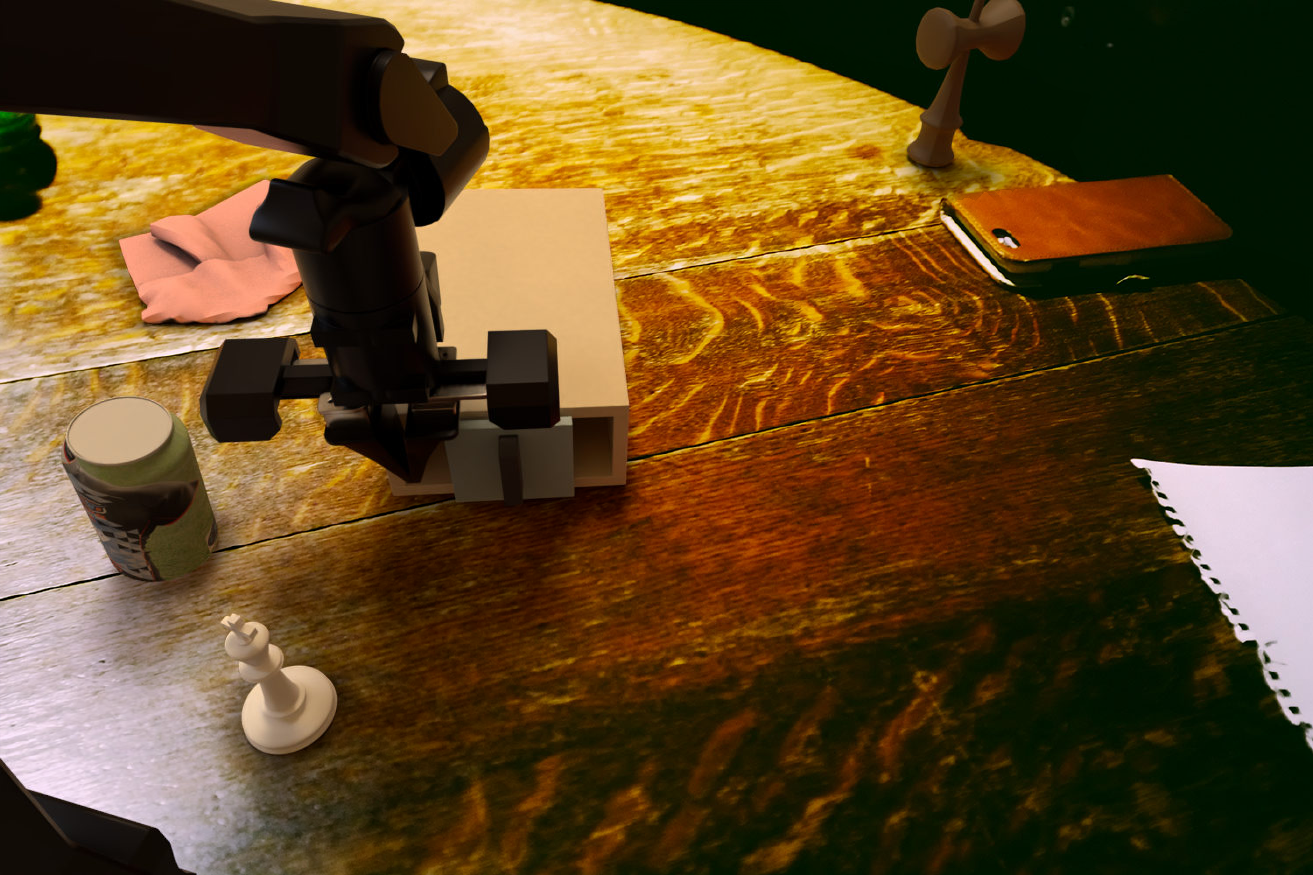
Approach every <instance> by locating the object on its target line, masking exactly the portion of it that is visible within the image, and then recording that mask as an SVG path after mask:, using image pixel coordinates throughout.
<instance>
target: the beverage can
mask: <svg viewBox="0 0 1313 875" xmlns="http://www.w3.org/2000/svg"><path fill="white" fill-rule="evenodd" d="M60 455H61V456H60V458H61V463H62V466H63V469H64V470H65V472H66V475H67V476H68V479H69V481H70V483H71V484H72V488H74V491H75V493H76V495H77V497H78V498H79V500H80V502H81V503H80V504H82V507H83V509H84V511H85V512H86V516H88V519H89V520H90V523H91V525H92V526H93V528H94V531H95V532H96V535H97V537H98V538H99V541H100V542H101V544H102V546H103V548H104V550H105V552H106V555H107V556H108V558H109V561H110V563H111V564H112V566H113V567H114V568H115V570H116V571H117V572H118V573H120V574H121V575H123V576H124V577H126V578H128V579H131V580H133V581H137V582H143V583H162V582H163V583H164V582H168V581H172V580H175V579H179V578H182V577H184V576H186V575H188V574H190V573H192V572H193V571H195V570H197V569H198V568H199V567H200V566H202V565H203V564H204V563H205V562H206V561H207V560H208V559H209V558H210V557H211V555H212V554H213V552H214V551H215V548H216V546H217V545H218V541H219V540H218V539H219V527H218V524H217V521H216V517H215V513H214V511H213V508H212V504H211V501H210V498H209V494H208V491H207V488H206V484H205V482H204V478H203V475H202V471H201V469H200V465H199V462H198V459H197V455H196V453H195V450H194V446H193V443H192V439H191V436H190V433H189V429H188V428H187V426H186V425H185V423H184V422H183V420H182V419H181V418H179V417H178V416H177V415H176V414H175V413H173V412H172V411H170V410H168V409H167V408H166V407H165V406H164V405H163V404H161V403H160V402H158V401H156V400H155V399H151V398H148V397H145V396H137V395H119V396H113V397H108V398H105V399H101V400H99V401H96V402H94V403H92V404H90V405H88V406H87V407H84V409H82V410H81V411H79V412H78V413H77V414H76V415H75V416H74V417H73V418H72V419H71V421H70V422H69V424H68V425H67V429H66V432H65V438H64V439H63V444H62V446H61V452H60Z"/></svg>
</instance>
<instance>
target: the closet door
mask: <svg viewBox="0 0 1313 875" xmlns="http://www.w3.org/2000/svg"><path fill="white" fill-rule="evenodd" d="M560 419H561V421H559V422H558V423H557V424H556V425H554V426H553V427H552V428H544V429H522V430H503V429H502V428H500V427H498V426H496V425H495V424H493V423H491V422H489V420H466V421H460V426H459V434H458V436H457V437H456V438H455V439H453V440H450V441H444V443H445V448H446V453H447V458H448V463H449V468H450V473H451V478H452V483H453V488H454V493H453V494H454V498H455V502H456V503H473V502H475V503H476V502H494V501H503V504H504V506H505V507H514V506H516V507H517V506H523V505H524V500H532V499H550V498H570V497H572V498H573V497H575V487H574V461H573V426H572V416H567V417H560Z"/></svg>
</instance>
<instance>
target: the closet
mask: <svg viewBox="0 0 1313 875" xmlns="http://www.w3.org/2000/svg"><path fill="white" fill-rule="evenodd" d="M605 202H606V201H605V193H604V188H603V187H598V188H597V187H586V188H585V187H581V188H580V187H575V188H574V187H573V188H571V187H570V188H561V187H560V188H559V187H558V188H557V187H555V188H464V189H463V190H462V191H461V193H460V194H459V195H458V197H457V198H456V199H455V200H454V202H453V203H452V204H451V206H450V207H449V208H448V210H447V211H446V212H445V213H444V215H443V216H442V217H441V219H440V220H439V221H437V222H434V223H433V224H430V225H427V226H423V227H415V229H416V235H417V240H418V245H419V251H429V252H433V253H435V254H436V259H437V268H438V277H439V286H440V295H441V312H442V317H443V323H444V340H443V342H438V343H437V346H438V347H444V346H454V347H456V348H457V359H483V358H487V342H488V331H505V330H537V329H547V330H548V331H549V332H550V333H551V334H552V335H553V336H554V337H555V338H556V339H557V355H558V376H559V397H560V417H567V416H572V426H573V461H574V488H585V487H586V488H587V487H604V486H605V487H607V486H625V485H627V468H628V467H627V466H628V445H629V444H628V443H629V424H630V423H629V422H630V420H629V419H630V400H629V391H628V383H627V376H626V367H625V365H626V364H625V359H624V349H623V341H622V333H621V324H620V317H619V309H618V300H617V294H616V284H615V276H614V268H613V261H612V252H611V251H612V250H611V244H610V236H609V235H610V234H609V227H608V219H607V218H608V217H607V209H606V203H605ZM395 406H396V409H397V412H398V415H399V417H400V420H401V423H402V426H403V428H404V431H405V426H406V418H407V410H408V404H395ZM466 420H489V417H488V410H487V399H481V400H461V411H460V421H466ZM385 471H386V475H387V478H388V483H389V485H390V486H389V487H390V489H391V493H392V495H393V497H401V496H402V497H403V496H422V495H423V496H425V495H443V494H445V495H446V494H455V493H454V488H453V483H452V478H451V473H450V468H449V463H448V458H447V453H446V448H445V443H444V441H441V442H440V443H439V444H438V446H437V447H436V449H435V450H434V452H433V453H432V454H431V456H430V457H429V459H428V462H427V465H426V468H425V471H424V474H423V477H422V480H421V483H411V484H408V483H407V482H405V481H404V480H402V479H401V478H399V477H398V476H396V475H395V474H393V473H392V472H390V471H389V470H387V469H386V468H385Z"/></svg>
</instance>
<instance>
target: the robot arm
mask: <svg viewBox="0 0 1313 875" xmlns="http://www.w3.org/2000/svg"><path fill="white" fill-rule="evenodd" d="M405 43H406V41H405V38H403V36H402V34H401V33H400V31H399V29H397V27H396V26H395V25H394V24H393V23H391V22H390V21H388V20H387V19H386V18H384V17H377V16H371V15H365V14H360V13H353V12H347V11H340V10H334V9H330V8H329V9H328V8H322V7H315V6H309V5H304V4H297V3H291V2H285V1H279V0H0V113H1V112H2V113H13V114H30V115H43V116H58V117H71V118H86V119H99V120H100V119H101V120H114V121H127V122H141V123H155V124H156V123H157V124H169V125H171V124H172V125H182V126H183V125H184V126H185V125H186V126H192V127H194V128H195V129H197V130H198V131H199V130H200V131H202V132H205V133H209V134H212V135H215V136H218V137H221V138H224V139H228V140H230V141H233V142H236V143H239V144H242V145H247V146H251V147H252V146H253V147H256V148H257V147H258V148H262V149H268V150H273V151H278V152H284V153H290V154H295V155H301V156H305V157H311V158H310V159H308V160H306V161H305V162H304V163H302V164H301V165H300V166H299V167H298V168H296V170H294V171H293V172H292V173H291V174H290V175H289V176H288V177H287V178H279V177H273V178H272V179H270V180H269V181H270V183H269V189H268V193H267V195H266V198H265V199H264V201H263V203H262V204H261V205H260V206H259V207H258V208H257V209H256V210H255V212H254V214H253V217H252V221H251V224H250V227H249V236H250V238H251V239H252V240H253V241H255V242H260V243H265V244H270V245H275V246H280V247H285V248H290V249H292V252H293V255H294V258H295V261H296V264H297V268H298V271H299V274H300V277H301V280H302V282H301V284H302V287H303V288H304V293H305V296H306V299H307V302H308V306H309V308H310V312H311V314H312V317H313V318H312V320H311V321H312V322H311V325H310V329H309V335H310V338H311V341H312V343H313V348H314V349H317V348H319V349H321V348H323V352H324V354H325V357H324V358H323V357H322V358H321V357H320V358H300V357H301V349H300V347H299V344H298V343H299V342H298V340H297V339H296V338H295V337H289V336H283V337H280V336H279V337H252V338H251V337H248V338H245V337H244V338H225V339H224V340H223V342H222V343H221V344H220V346H219V347H218V348H217V350H216V352H215V356H214V358H213V360H212V363H211V366H210V368H209V370H208V371H209V372H208V374H207V377H206V380H205V383H204V385H203V388H202V391H201V394H200V396H199V398H198V401H199V414H200V417H201V420H202V422H203V423H204V426H205V427H206V429H207V432H208V433H209V435H210V437H211V438H213V439H214V440H215V441H216V442H217V443H218V444H229V443H250V442H251V443H253V442H269V441H271V440H272V439H273V438H274V437H275V436H276V435H277V434H278V433H279V432H280V431H281V429H282V426H283V421H282V418H281V416H280V412H279V407H280V402H281V401H289V400H290V401H291V400H293V401H294V400H315V399H316V400H317V399H318V402H317V406H316V410H317V413H318V414H319V415H322V417H323V420H324V422H325V427H324V432H323V438H324V440H325V442H326V443H327V445H329V446H332V447H345V448H347V449H349V450H351V451H352V452H355V453H357V454H359V455H361V456H363V457H365V458H366V459H368V460H371V461H372V462H374V463H375V464H378V465H379V466H380V467H382V468H384V469H385V470H386V469H387V470H389V471H390V472H392V473H393V474H395V475H396V476H398V477H399V478H401V479H402V480H404V481H405V482H407V483H408V484H411V483H421V480H422V477H423V474H424V471H425V468H426V465H427V462H428V459H429V457H430V456H431V454H432V453H433V452H434V450H435V449H436V447H437V446H438V444H439V443H440V442H441V441H450V440H453V439H455V438H456V437H457V436H458V434H459V426H460V411H461V400H481V399H487V410H488V417H489V422H491V423H493V424H495V425H496V426H498V427H500V428H502V429H503V430H522V429H544V428H552V427H553V426H554V425H556V424H557V423H558V422H559V421H561V419H560V397H559V376H558V355H557V339H556V338H555V337H554V336H553V335H552V334H551V333H550V332H549V331H548V330H547V329H537V330H505V331H488V342H487V358H483V359H457V348H456V347H454V346H444V347H438V346H437V343H438V342H443V340H444V323H443V317H442V312H441V295H440V286H439V277H438V268H437V259H436V254H435V253H433V252H429V251H419V245H418V240H417V235H416V229H415V227H423V226H427V225H430V224H433V223H434V222H437V221H439V220H440V219H441V217H442V216H443V215H444V213H445V212H446V211H447V210H448V208H449V207H450V206H451V204H452V203H453V202H454V200H455V199H456V198H457V197H458V195H459V194H460V193H461V191H462V190H463V189H465V188H466V186H467V185H468V184H469V183H470V182H471V180H472V178H473V177H474V176H475V175H476V173H477V172H478V171H479V169H480V168H481V167H482V165H483V164H484V163H485V161H486V160H487V158H488V155H489V152H490V145H491V136H490V131H489V127H488V125H486V123H485V121H484V119H483V117H482V115H481V114H480V113H481V112H479V110H478V109H477V107H476V105H475V104H474V103H473V102H472V101H471V100H470V99H469V98H468V96H467V95H465V94H464V93H463V92H461V91H460V90H458V89H457V88H456V87H454V86H453V85H452V84H449V75H448V68H447V64H446V63H445V62H442V61H437V60H436V61H435V60H430V59H425V58H417V57H411V56H410V55H409V54H408V53H406V52H403V50H404V48H405ZM395 404H408V410H407V418H406V426H405V431H404V428H403V426H402V423H401V420H400V417H399V415H398V412H397V409H396V406H395ZM0 875H198V874H197V872H194V871H190V870H187V869H184V868H180V867H179V865H178V863H177V860H176V857H175V854H174V850H173V847H172V843H171V842H170V840H168V838H167V837H166V836H165V834H163V832H162V831H161V830H160V829H159V828H157V827H155V826H151V825H148V824H145V823H142V822H138V821H136V820H132V819H130V818H129V819H128V818H125V817H123V816H122V817H121V816H118V815H116V814H112V813H109V812H105V811H102V810H99V809H95V808H92V807H89V806H87V805H82V804H80V803H75V802H73V801H69V800H65V799H63V798H59V797H56V796H53V795H50V794H46V793H43V792H40V791H36V790H32V789H31V788H30V789H29V788H26V786H25V785H24V784H23V783H22V781H21V780H20V779H19V778H18V777H17V776H16V774H15V773H14V772H13V771H12V770H11V769H10V767H9V766H8V765H7V763H6V762H5V761H4V760H3V759H2V758H1V757H0Z"/></svg>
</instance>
